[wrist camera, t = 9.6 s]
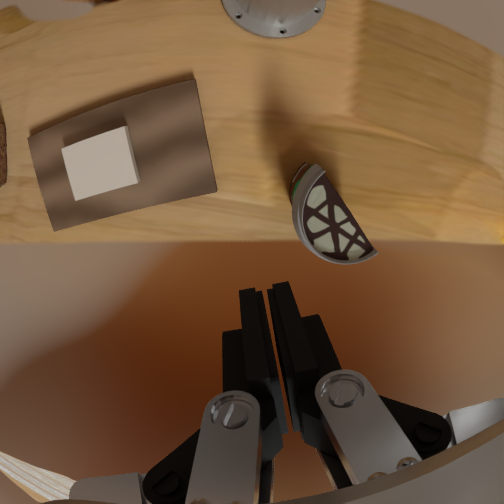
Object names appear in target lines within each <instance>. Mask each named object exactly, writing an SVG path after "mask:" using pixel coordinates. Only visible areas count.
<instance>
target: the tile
mask: <svg viewBox="0 0 504 504" xmlns="http://www.w3.org/2000/svg"><path fill="white" fill-rule="evenodd" d="M61 150H62V154H63V158H64V162H65V166H66V170H67V174H68V177H69V181H70V185H71V188H72V192H73V195H74V198H75V201H77V200H80V199H84V198H87V197H90V196H93V195H97V194H100V193H104V192H107V191H111V190H114V189H118V188H121V187H125V186H129V185H133V184H136V183H139V182H140V177H139V173H138V169H137V165H136V161H135V157H134V153H133V148H132V144H131V140H130V135H129V131H128V126H124V127H120V128H117V129H114V130H111V131H108V132H105V133H102V134H99V135H96V136H94V137H91V138H88V139H85V140H83V141H80V142H77V143H75V144H72V145H70V146H67V147H65V148H62V149H61Z"/></svg>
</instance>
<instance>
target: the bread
mask: <svg viewBox="0 0 504 504" xmlns="http://www.w3.org/2000/svg"><path fill="white" fill-rule="evenodd" d="M6 178H7V156H6V129H5V126H4V124H3V123H0V187H1V186H2V185H4V184H5V183H6Z"/></svg>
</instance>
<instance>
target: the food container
mask: <svg viewBox="0 0 504 504" xmlns="http://www.w3.org/2000/svg"><path fill="white" fill-rule="evenodd" d="M324 172H326V171H325V170H323V169H322V167H320V166H319V165H318V164H317V163H315V164H314V165H311V164H308V163H306V162H305V163H304V164H303V165H302V166H301V167H300V168H299V169H298V170H297V172H296V173H295V175H294V177H293V178H292V182H291V186H290V189H289V192H290V202H291V205H292V218H293V224H294V228H295V230H296V233H297V235H298V237H299V238H300V240H301V241H302V243H303V244H304V245H305V246H306V247H307V248H308V249H309V250H310V251H312V252H313V253H314V254H316V255H317V256H319V257H320V258H322V259H324V260H326V261H329V262H332V263H339V264H355V263H360V262H363V261H366V260H368V259H370V258H372V257H374V256H375V255H377V254H378V252H377V250H376V249H375V248H374V247H373V246H372V245H371V243H370V242H369V241H368V239H367V238H366V236H365V234H364V233H363V231H362V229H361V228H360V226H359V225H358V223H357V222H356V220H355V218H354V217H353V215H352V214H351V212H350V211H349V209H348V208H347V206H346V205H345V203H344V202H343V200H342V199H341V197H340V196H339V194H338V193H337V192H336V190H335V189H334V187H333V186H332V184H331V183H330V181H329V180H328V179H327V177H326V176H325V175H324Z"/></svg>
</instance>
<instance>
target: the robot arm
mask: <svg viewBox="0 0 504 504" xmlns="http://www.w3.org/2000/svg"><path fill="white" fill-rule="evenodd" d="M222 3H223V7H224V9H225V11H226V13H227V14H228V16H229V17H230V18H231V20H232V21H234V22H235V23H236V24H237V25H238V26H239V27H241V28H243V29H244V30H246V31H248V32H250V33H252V34H255V35H258V36H262V37H266V38H275V39H277V38H289V37H294V36H297V35H300V34H302V33H304V32H306V31H307V30H309V29H311V28H312V27H313V26H314V25H315V24H316V23H317V22H318V21H319V20H320V18H321V17H322V15H323V13H324V9H325V5H326V0H222ZM315 11H317V13H316V12H315ZM237 16H240V17H241V18H240V19H237V18H236V17H237ZM280 31H283V32H284V34H281V33H280ZM272 286H273V289H267V293H268V299H269V305H270V311H271V317H272V323H273V329H274V335H275V341H276V347H277V353H278V358H279V363H280V367H281V372H282V377H283V381H284V387H285V392H286V396H287V401H288V406H289V411H290V416H291V421H292V425H293V430H294V432H296V431H301V436H302V439H304V442H305V443H306V444H308V445H310V446H313V447H314V448H316V449H317V453H318V455H319V457H320V460H321V462H322V464H323V466H324V468H325V471H326V473H327V475H328V477H329V479H330V481H331V484H332V486H333V488H334V490H335V491H331V492H327V493H322V494H318V495H313V496H309V497H304V498H299V499H293V500H287V501H281V502H274V503H273V483H274V457H275V455H276V454H277V453H278V452H279V451H280V450H281V449H282V448H283V440H282V434H286V433H288V429H287V422H286V416H285V411H284V405H283V399H282V393H281V387H280V381H279V375H278V370H277V365H276V360H275V355H274V350H273V345H272V340H271V334H270V329H269V324H268V319H267V314H266V309H265V304H264V299H263V294H262V291H257V292H256V291H255V288H249V289H244V290H239V298H240V310H241V323H242V329H237V330H231V331H225V332H223V335H222V347H223V348H222V353H223V354H222V356H223V393H221V394H219V395H217V396H216V397H214V398H213V399H212V400H211V401H210V402H209V403H208V404H207V406H206V409H205V411H204V415H203V420H202V425H201V428H200V429H199V430H198V431H197V432H195V433H194V434H193V435H192V436H191V437H189V438H188V439H187V440H186V441H185V442H184V443H182V445H180V446H179V447H178V448H176V449H175V450H174V451H173V452H171V453H170V454H169V455H168V456H167V457H166V458H164V459H163V460H162V461H160V462H159V463H158V464H157V465H155V466H154V467H153V468H152V469H151V470H150V471H149V472H148V473H146V474H139V473H138V472H135V473H128V474H121V475H113V476H104V477H95V478H84V479H81V480H78V481H77V482H75V483H74V484H73V486H72V487H71V489H70V494H69V499H63V500H53V501H48V502H44V503H41V504H504V398H498V399H494V400H491V401H488V402H485V403H481V404H477V405H474V406H470V407H466V408H462V409H458V410H454V411H449V412H448V414H447V415H444V416H440V415H438V414H436V413H433V412H430V411H426V410H423V409H420V408H417V407H413V406H410V405H407V404H404V403H401V402H398V401H395V400H392V399H389V398H386V397H383V396H380V395H378V394H377V393H376V391H375V390H374V389H373V387H372V386H371V384H370V383H369V381H368V380H367V379H366V378H365V377H364V376H363V375H362V374H360V373H357V372H356V371H351V370H342V369H341V366H340V364H339V361H338V359H337V356H336V354H335V351H334V350H333V347H332V344H331V342H330V340H329V337H328V335H327V332H326V330H325V327H324V325H323V323H322V320H321V318H320V316H319V315H318V314H316V315H311V316H306V317H301V316H300V313H299V310H298V307H297V304H296V302H295V299H294V296H293V293H292V290H291V287H290V284H289V282H288V281H287V282H281V283H276V284H273V285H272Z"/></svg>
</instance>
